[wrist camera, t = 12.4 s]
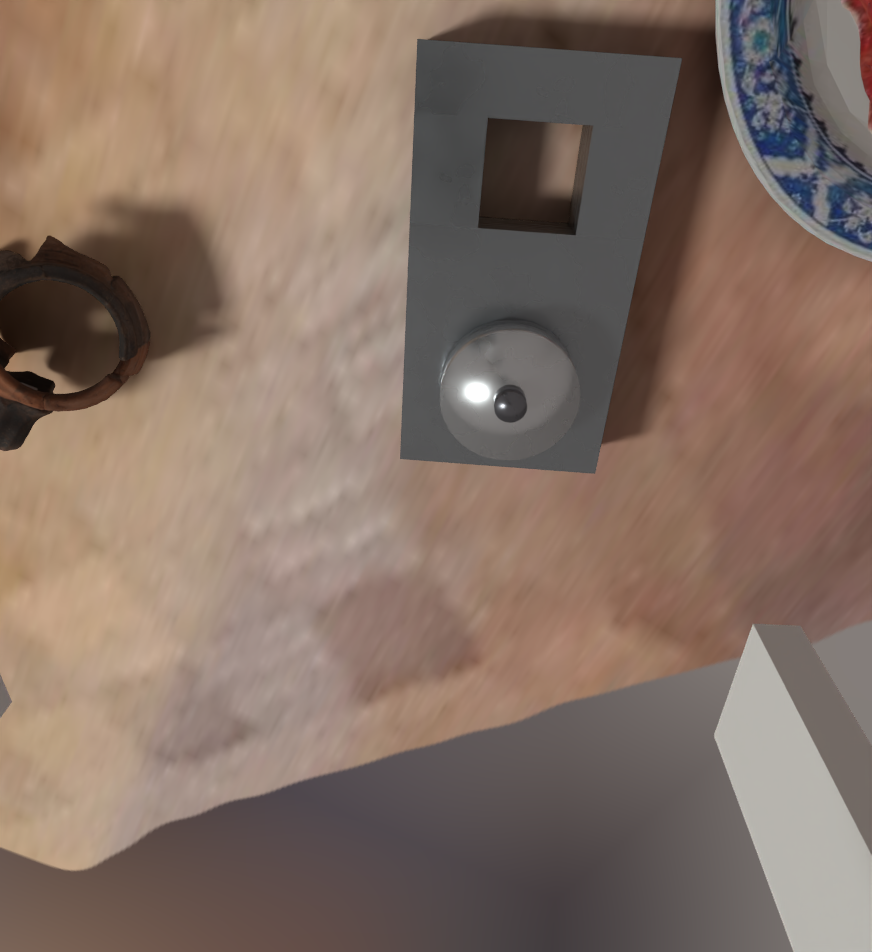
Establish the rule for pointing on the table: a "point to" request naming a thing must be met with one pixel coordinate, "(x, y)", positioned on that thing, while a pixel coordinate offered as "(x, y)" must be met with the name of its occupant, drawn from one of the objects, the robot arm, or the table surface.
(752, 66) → the ceramic plate
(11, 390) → the broken brown mug
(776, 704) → the robot arm
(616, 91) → the block
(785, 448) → the table surface
